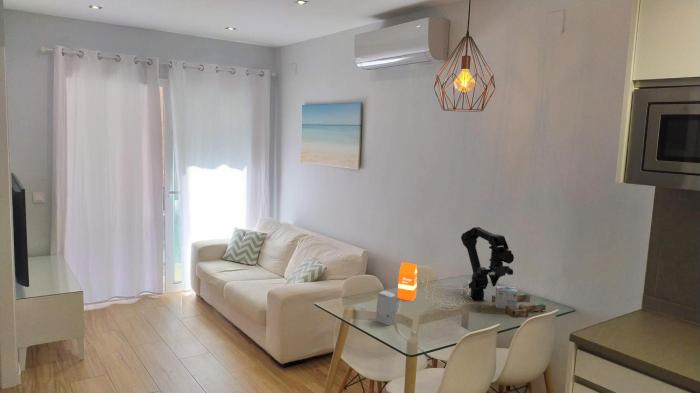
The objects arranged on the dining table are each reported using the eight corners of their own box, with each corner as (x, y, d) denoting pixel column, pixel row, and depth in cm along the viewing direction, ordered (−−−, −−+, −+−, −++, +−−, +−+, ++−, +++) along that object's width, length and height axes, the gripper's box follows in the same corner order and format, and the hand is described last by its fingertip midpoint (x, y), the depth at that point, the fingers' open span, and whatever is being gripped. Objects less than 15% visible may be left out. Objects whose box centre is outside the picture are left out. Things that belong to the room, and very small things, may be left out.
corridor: (511, 317, 263) (512, 309, 262) (491, 301, 285) (492, 294, 285) (551, 316, 267) (552, 308, 267) (528, 300, 290) (529, 293, 289)
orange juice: (412, 300, 280) (414, 266, 277) (397, 298, 284) (399, 263, 280) (416, 296, 288) (418, 262, 284) (401, 294, 291) (403, 260, 288)
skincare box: (375, 321, 250) (376, 292, 248) (382, 317, 254) (384, 289, 252) (389, 326, 245) (390, 296, 242) (396, 322, 249) (397, 293, 247)
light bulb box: (513, 305, 281) (515, 286, 279) (516, 309, 274) (518, 290, 272) (494, 303, 282) (495, 285, 280) (496, 308, 275) (498, 289, 273)
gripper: (486, 262, 262) (484, 291, 265) (519, 262, 266) (516, 290, 268) (477, 257, 273) (475, 284, 276) (509, 256, 277) (506, 284, 279)
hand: (493, 286), depth 274 cm, fingers closed
